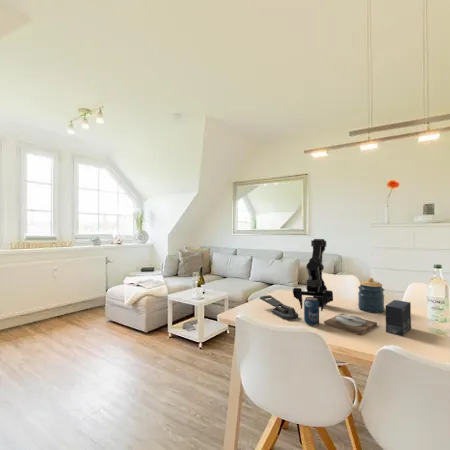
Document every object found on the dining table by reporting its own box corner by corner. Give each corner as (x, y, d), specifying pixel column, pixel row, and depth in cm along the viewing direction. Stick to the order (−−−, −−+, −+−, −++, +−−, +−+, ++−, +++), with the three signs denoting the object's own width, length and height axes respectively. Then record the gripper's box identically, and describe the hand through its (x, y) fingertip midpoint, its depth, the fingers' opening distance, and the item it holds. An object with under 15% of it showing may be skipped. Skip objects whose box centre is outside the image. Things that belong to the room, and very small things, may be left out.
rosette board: (342, 316, 143) (342, 311, 143) (377, 325, 130) (376, 319, 130) (324, 324, 132) (324, 318, 132) (360, 335, 119) (360, 328, 119)
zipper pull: (270, 294, 163) (301, 305, 141) (270, 305, 163) (301, 318, 141) (257, 296, 158) (287, 308, 136) (258, 308, 158) (287, 321, 136)
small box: (394, 324, 131) (394, 299, 131) (411, 328, 126) (411, 302, 126) (385, 332, 122) (384, 305, 122) (403, 336, 117) (402, 308, 117)
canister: (363, 304, 164) (362, 274, 164) (387, 309, 154) (387, 277, 154) (354, 309, 154) (354, 277, 154) (380, 314, 145) (379, 281, 145)
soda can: (310, 326, 129) (310, 301, 129) (301, 322, 135) (301, 297, 135) (322, 324, 132) (322, 299, 132) (312, 320, 138) (312, 296, 138)
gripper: (293, 271, 141) (289, 298, 131) (332, 274, 133) (331, 303, 123) (296, 284, 148) (292, 310, 138) (333, 287, 141) (332, 315, 130)
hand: (311, 309), depth 132 cm, fingers open, 9 cm apart
